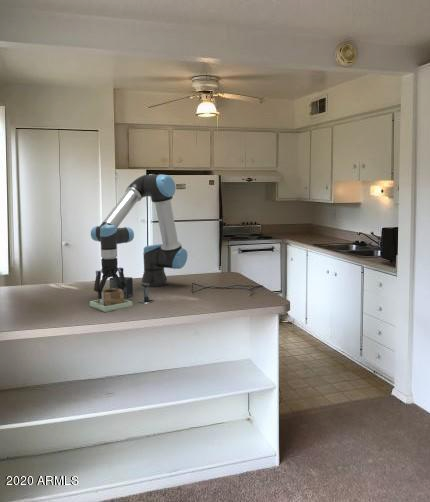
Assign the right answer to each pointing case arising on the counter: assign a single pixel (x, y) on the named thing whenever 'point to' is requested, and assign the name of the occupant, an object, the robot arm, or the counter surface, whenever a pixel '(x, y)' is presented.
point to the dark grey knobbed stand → (146, 294)
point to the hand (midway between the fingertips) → (111, 303)
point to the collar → (112, 296)
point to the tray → (109, 308)
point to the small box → (127, 290)
